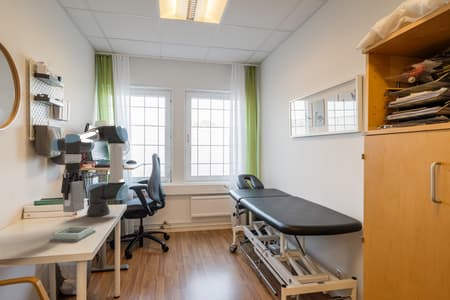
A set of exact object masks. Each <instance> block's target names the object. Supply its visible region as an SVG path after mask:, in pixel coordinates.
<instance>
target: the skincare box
mask: <svg viewBox="0 0 450 300" xmlns="http://www.w3.org/2000/svg"><path fill="white" fill-rule="evenodd" d="M69 184H70V192H69V193H71V206H65V199H64V194H62V204H63V205H62V208H63V213H77V212H79V211H82V210H85V199H84V197H85V196H84V195H85V194H84V190H83V181H76V182H74V181H73V182H71V183H69Z"/></svg>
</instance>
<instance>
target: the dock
mask: <svg viewBox="0 0 450 300" xmlns="http://www.w3.org/2000/svg"><path fill="white" fill-rule="evenodd" d="M95 233H96V229H95V230H94V226H77V225H75V226H71V225H70V226H67V227H65V228H63V229H60V230H58V231H55V232H54V233H52V238H50V239H49V242H55V243H57V242H58V243H60V242H61V243H79V242H81V241H82V240H84V239H86V238H87V237H90V236H91V235H94V234H95Z"/></svg>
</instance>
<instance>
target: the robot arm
mask: <svg viewBox="0 0 450 300" xmlns="http://www.w3.org/2000/svg"><path fill="white" fill-rule="evenodd" d="M128 138H129V133H128V131H127V129H126V127H125V126H124V125H118V124H117V125H100V126H96V127H92V128H89V129H88V130H87V131H85V132H82V133H66V134H65V135H64V137H63V138H54V139H52V140H51V141H50V148H51V150H52V151H53V152H59V153H61V152H63V153H65V155H64V157H65V158H64V159H65V164H64V170H66V173H62V184H61V190H60V193H61V195H63V194H64V199H65V206H71V193H69V192H70V184H69V183H71V182H73V181H74V182H76V181H83V191H84V189H85V181H84V171H80V170H81V169H82V163H81V162H82V152H85V153H87V152H92V150H94V148H95V143H97V142H99V143H100V142H101V143H102V142H104V143H105V142H106V143H107V145H108V146H109V180H108V181H102V182H94V183H91V184H89V188H88V191H89V194H88V198H89V203H88V204H89V206H88V207H87V211H86V216H87V217H91V218H97V217H103V216H107V215H110V213H111V210H110V208H109V204H108V201H123V200H125V199H126V198H127V196H128V194H129V185H128V183H126V180H125V179H124V172H123V171H124V168H123V167H124V163H123V162H124V160H123V158H124V157H123V154H124V152H123V151H124V150H123V148H124V146H125V144H126V142H127V141H128Z"/></svg>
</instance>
